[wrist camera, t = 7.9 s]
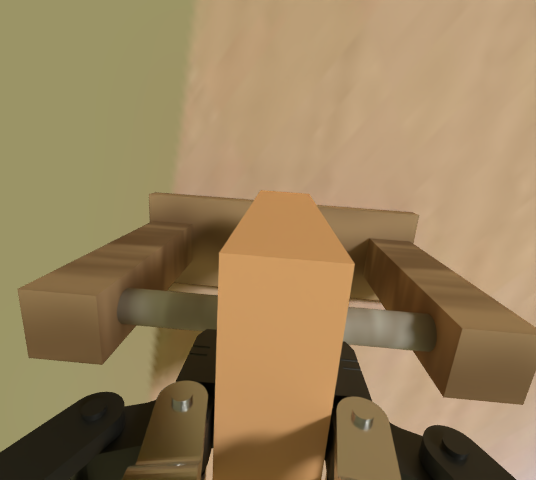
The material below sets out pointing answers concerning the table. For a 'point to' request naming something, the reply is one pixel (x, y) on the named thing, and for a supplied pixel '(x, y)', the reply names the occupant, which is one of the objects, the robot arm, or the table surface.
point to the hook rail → (378, 275)
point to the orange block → (278, 340)
